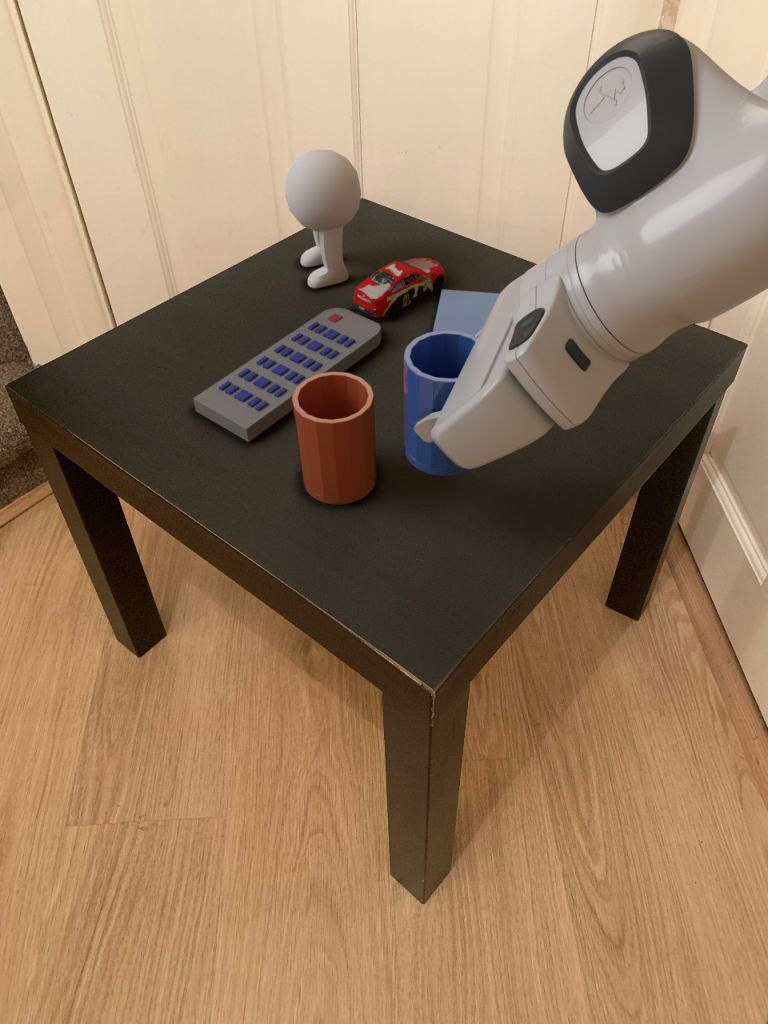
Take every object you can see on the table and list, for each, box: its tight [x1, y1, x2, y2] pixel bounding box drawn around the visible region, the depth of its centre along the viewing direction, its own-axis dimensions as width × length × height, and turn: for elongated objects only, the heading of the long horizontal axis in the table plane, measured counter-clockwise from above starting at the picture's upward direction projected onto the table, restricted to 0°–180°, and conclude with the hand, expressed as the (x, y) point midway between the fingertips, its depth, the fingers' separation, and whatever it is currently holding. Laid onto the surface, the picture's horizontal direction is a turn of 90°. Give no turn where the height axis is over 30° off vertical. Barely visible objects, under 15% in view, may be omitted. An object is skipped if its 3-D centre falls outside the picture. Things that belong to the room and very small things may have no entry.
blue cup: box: [403, 330, 477, 477], centre depth 63 cm, size 7×7×10 cm
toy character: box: [285, 148, 362, 289], centre depth 96 cm, size 9×9×15 cm
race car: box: [352, 257, 446, 318], centre depth 96 cm, size 13×5×4 cm, turn 134°
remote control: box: [192, 307, 382, 443], centre depth 87 cm, size 8×23×2 cm, turn 141°
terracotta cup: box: [292, 371, 378, 506], centre depth 72 cm, size 7×7×10 cm
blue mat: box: [432, 289, 500, 336], centre depth 92 cm, size 14×12×1 cm
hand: (438, 399), depth 63 cm, fingers closed on blue cup, 7 cm apart
